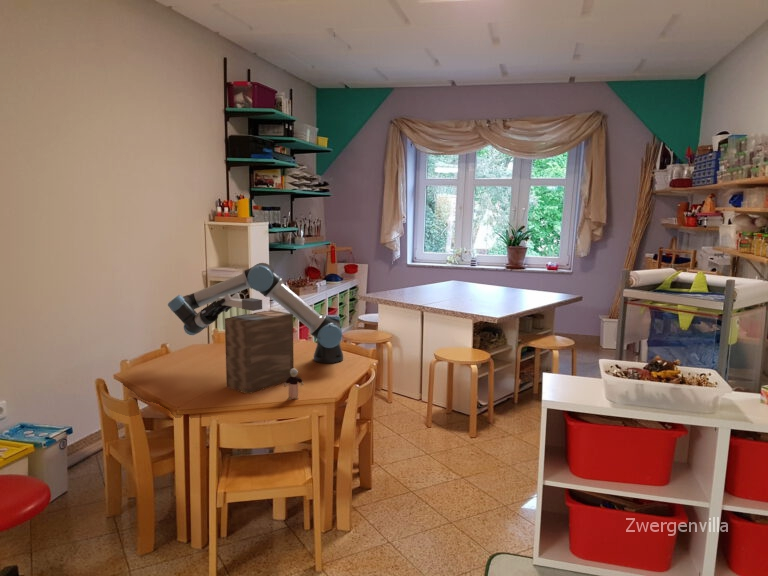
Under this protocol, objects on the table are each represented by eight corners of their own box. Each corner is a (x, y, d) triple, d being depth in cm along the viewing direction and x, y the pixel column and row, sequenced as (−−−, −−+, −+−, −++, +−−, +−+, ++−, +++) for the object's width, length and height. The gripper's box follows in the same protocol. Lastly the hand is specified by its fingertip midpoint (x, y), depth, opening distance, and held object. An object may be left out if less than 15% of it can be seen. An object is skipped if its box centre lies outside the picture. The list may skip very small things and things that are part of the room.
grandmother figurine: (286, 401, 223) (285, 370, 221) (283, 398, 227) (283, 368, 225) (304, 398, 226) (304, 368, 224) (302, 396, 230) (301, 366, 228)
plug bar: (214, 303, 246) (214, 294, 246) (223, 302, 250) (223, 293, 250) (252, 310, 231) (252, 301, 230) (262, 309, 235) (262, 299, 234)
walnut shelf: (226, 386, 240) (224, 318, 236) (272, 373, 260) (271, 309, 256) (247, 393, 232) (246, 322, 227) (293, 379, 252) (293, 313, 248)
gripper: (225, 321, 261) (252, 301, 247) (193, 327, 248) (220, 306, 234) (219, 306, 262) (247, 286, 249) (187, 311, 249) (214, 290, 235)
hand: (234, 296), depth 241 cm, fingers closed on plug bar, 4 cm apart
